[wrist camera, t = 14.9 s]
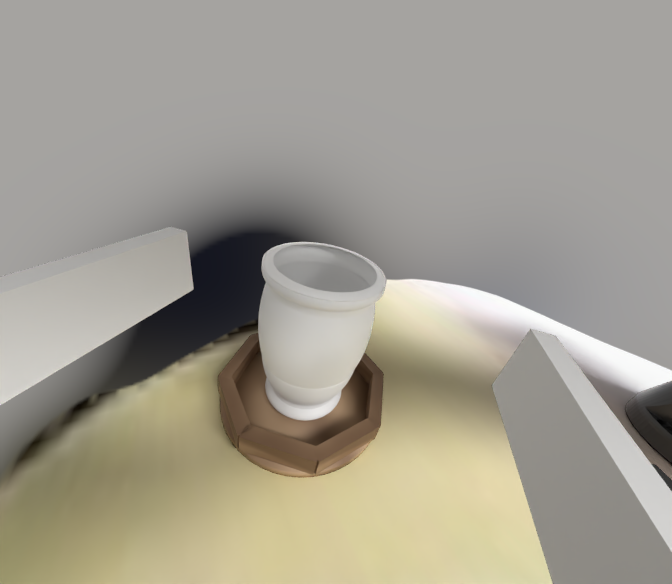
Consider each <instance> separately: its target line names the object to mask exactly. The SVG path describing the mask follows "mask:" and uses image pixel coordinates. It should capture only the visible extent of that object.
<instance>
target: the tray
mask: <svg viewBox="0 0 672 584" xmlns="http://www.w3.org/2000/svg"><path fill="white" fill-rule="evenodd" d="M383 375H384V374H383V372H382V371H381V370H380V369H379V368H378V367H377V366H376V364H375V363H374V362H373V361H372V360H371V359H370V358H369V357H368V356H367V355H366V354H365V353H364V354H363V356H362V358H361V360H360V362H359V363H358V365H357V367H356V368H355V370H354V372H353V374H352V376H351V378H350V380H349V381H348V383H347V384H346V385H345V387H344V388H343V389H342V390H341V397H340V400H339V402H338V404H337V405H336V407H335V408H334V409H333V410H332V411H331V412H330V413H328V414H327V415H325V416H323V417H321V418H318V419H315V420H307V421H304V420H296V419H292V418H289V417H287V416H285V415H283V414H281V413H280V412H278V411H277V410H276V409H275V408H274V407H273V406H272V405H271V403H270V401H269V400H268V398H267V395H266V390H265V382H266V378H267V376H266V374H265V371H264V367H263V362H262V354H261V349H260V343H259V333H256V334H252V336H251V335H250V336H249V338H248V339H247V340H246V341H245V343H244V344H243V345H242V346H241V348H240V349H239V350H238V351H237V353H236V354H235V355H234V356H233V358H232V359H231V360H230V361H229V363H228V364H227V365H226V367H225V368H224V369H223V370H222V372H221V373H220V374H219V375H218V387H219V393H220V396H221V397H220V407H221V417H222V422H223V426H224V428H225V431H226V433H227V435H228V437H229V439H230V440H231V442H232V443H233V445H234V446H235V447H236V448H237V449H238V451H239V452H240V453H241V454H242V455H243V456H245V457H246V458H247V459H248V460H249V461H251V462H252V463H254V464H256V465H257V466H259V467H261V468H263V469H265V470H268V471H270V472H272V473H276V474H280V475H284V476H291V477H314V476H319V475H325V474H328V473H331V472H334V471H336V470H339V469H340V468H342V467H344V466H346V465H348V464H349V463H351V462H352V461H353V460H355V459H356V458H357V457H358V456H359V455H360V454H361V453H362V452H363V451H364V450H365V449H366V447H367V446H368V444H369V443H370V442H371V441H372V440H374V439H375V437H376V435H377V432H378V430H379V428H380V426H381V411H382V393H383Z"/></svg>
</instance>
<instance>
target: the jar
mask: <svg viewBox="0 0 672 584" xmlns="http://www.w3.org/2000/svg"><path fill="white" fill-rule="evenodd" d="M262 274H263V277H264V279H265V281H266V284H265V287H264V290H263V294H262V298H261V303H260V309H259V319H258V333H259V343H260V349H261V354H262V362H263V367H264V371H265V374H266V376H267V378H266V382H265V390H266V395H267V398H268V400H269V401H270V403H271V405H272V406H273V407H274V408H275V409H276V410H277V411H278V412H280V413H281V414H283V415H285V416H287V417H289V418H292V419H296V420H304V421H307V420H315V419H318V418H321V417H323V416H325V415H327V414H328V413H330V412H331V411H332V410H333V409H334V408H335V407H336V405H337V404H338V402H339V400H340V397H341V390H342V389H343V388H344V387H345V385H346V384H347V383H348V381H349V380H350V378H351V376H352V374H353V372H354V370H355V368H356V367H357V365H358V363H359V362H360V360H361V358H362V356H363V354H364V352H365V350H366V347H367V345H368V342H369V339H370V335H371V331H372V327H373V322H374V315H375V303H376V302H377V301H378V300H379V299H380V298H381V297H382V295H383V293H384V291H385V286H386V277H385V275H384V273H383V271H382V270H381V269H380V268H379V267H378V266H377V265H376V264H375V263H374V262H372V261H370V260H369V259H367V258H366V257H364V256H362V255H360V254H358V253H355V252H353V251H350V250H347V249H344V248H341V247H337V246H333V245H328V244H322V243H314V242H313V243H312V242H295V243H287V244H282V245H278V246H276V247H273V248H271V249H270V250H268V251H267V252H266V253H265V254H264V256H263V259H262Z"/></svg>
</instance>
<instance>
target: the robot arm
mask: <svg viewBox="0 0 672 584" xmlns="http://www.w3.org/2000/svg"><path fill="white" fill-rule="evenodd" d="M193 289H194V288H193V280H192V272H191V264H190V255H189V247H188V238H187V231H184V230H180V229H177V228H173V227H168V228H165V229H161V230H158V231H155V232H151V233H148V234H144V235H141V236H137V237H134V238H130V239H127V240H124V241H120V242H117V243H113V244H110V245H107V246H103V247H100V248H97V249H93V250H90V251H86V252H83V253H79V254H76V255H73V256H69V257H66V258H62V259H59V260H55V261H52V262H49V263H45V264H42V265H38V266H35V267H32V268H28V269H25V270H21V271H18V272H15V273H11V274H8V275H4V276H1V277H0V405H2V404H3V403H5V402H7V401H8V400H10V399H12V398H13V397H15V396H16V395H18V394H20V393H22V392H23V391H25V390H27V389H28V388H30V387H32V386H33V385H35V384H37V383H38V382H40V381H42V380H43V379H45V378H47V377H48V376H50V375H52V374H53V373H55V372H57V371H58V370H60V369H62V368H63V367H65V366H67V365H68V364H70V363H72V362H73V361H75V360H77V359H78V358H80V357H82V356H83V355H85V354H87V353H88V352H90V351H92V350H93V349H95V348H97V347H98V346H100V345H101V344H103V343H105V342H107V341H108V340H110V339H112V338H113V337H115V336H117V335H118V334H120V333H122V332H123V331H125V330H127V329H128V328H130V327H132V326H133V325H135V324H137V323H138V322H140V321H142V320H143V319H145V318H147V317H148V316H150V315H152V314H153V313H155V312H157V311H158V310H160V309H161V308H163V307H165V306H167V305H168V304H170V303H172V302H173V301H175V300H177V299H178V298H180V297H182V296H183V295H185V294H187V293H188V292H190V291H192V290H193ZM492 388H493V391H494V394H495V398H496V401H497V404H498V407H499V411H500V414H501V417H502V420H503V424H504V427H505V430H506V433H507V437H508V440H509V443H510V446H511V450H512V453H513V456H514V459H515V463H516V466H517V469H518V472H519V475H520V479H521V482H522V485H523V488H524V492H525V495H526V498H527V501H528V505H529V508H530V511H531V514H532V518H533V521H534V524H535V527H536V531H537V534H538V537H539V540H540V543H541V547H542V550H543V553H544V556H545V560H546V563H547V566H548V569H549V573H550V576H551V579H552V582H553V584H672V480H671V479H670V478H669V477H668V476H667V475H666V474H665V473H664V472H663V471H662V470H661V469H659V468H658V467H657V466H656V465H654V464H651V463H650V462H649V460H648V459H647V458H646V456H645V455H644V454H643V452H642V451H641V450H640V448H639V447H638V446H637V444H636V443H635V442H634V440H633V439H632V437H631V436H630V435H629V433H628V432H627V431H626V429H625V428H624V427H623V425H622V424H621V423H620V421H619V420H618V419H617V417H616V416H615V415H614V413H613V412H612V411H611V409H610V408H609V407H608V405H607V404H606V403H605V401H604V400H603V399H602V397H601V396H600V395H599V393H598V392H597V390H596V389H595V388H594V386H593V385H592V384H591V382H590V381H589V380H588V378H587V377H586V376H585V374H584V373H583V372H582V370H581V369H580V368H579V366H578V365H577V364H576V362H575V361H574V360H573V358H572V357H571V356H570V354H569V353H568V352H567V350H566V349H565V348H564V346H563V345H562V343H561V342H560V341H559V339H558V338H557V337H556V336H554V335H551V334H547V333H544V332H540V331H537V330H533V329H530V331H529V332H528V333H527V335H526V336H525V338H524V339H523V341H522V342H521V344H520V345H519V347H518V348H517V349H516V351H515V352H514V354H513V355H512V357H511V358H510V360H509V361H508V362H507V364H506V365H505V367H504V368H503V370H502V371H501V373H500V374H499V375H498V377H497V378H496V380H495V381H494V383H493V384H492ZM626 412H627V415H628V417H629V419H630V421H631V422H632V424H633V425H634V426H635V428H636V429H637V430H638V432H639V433H640V434H641V435H642V436H643V437H644V438H645V439H646V440H647V441H648V442H649V443H650V444H651V445H652V446H653V447H654V448H655V449H656V450H657V451H658V452H659V453H660V454H661V455H662V456H664V457H665V458H666V459H667V460H668V461H670V462H671V463H672V381H670V382H667V383H664V384H661V385H658V386H656V387H653V388H650V389H647V390H644V391H642V392H640V393H638V394H637V395H636V396H635V397H633V398H632V399H631V400H630V401H629V402H628V403H627V404H626Z"/></svg>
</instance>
